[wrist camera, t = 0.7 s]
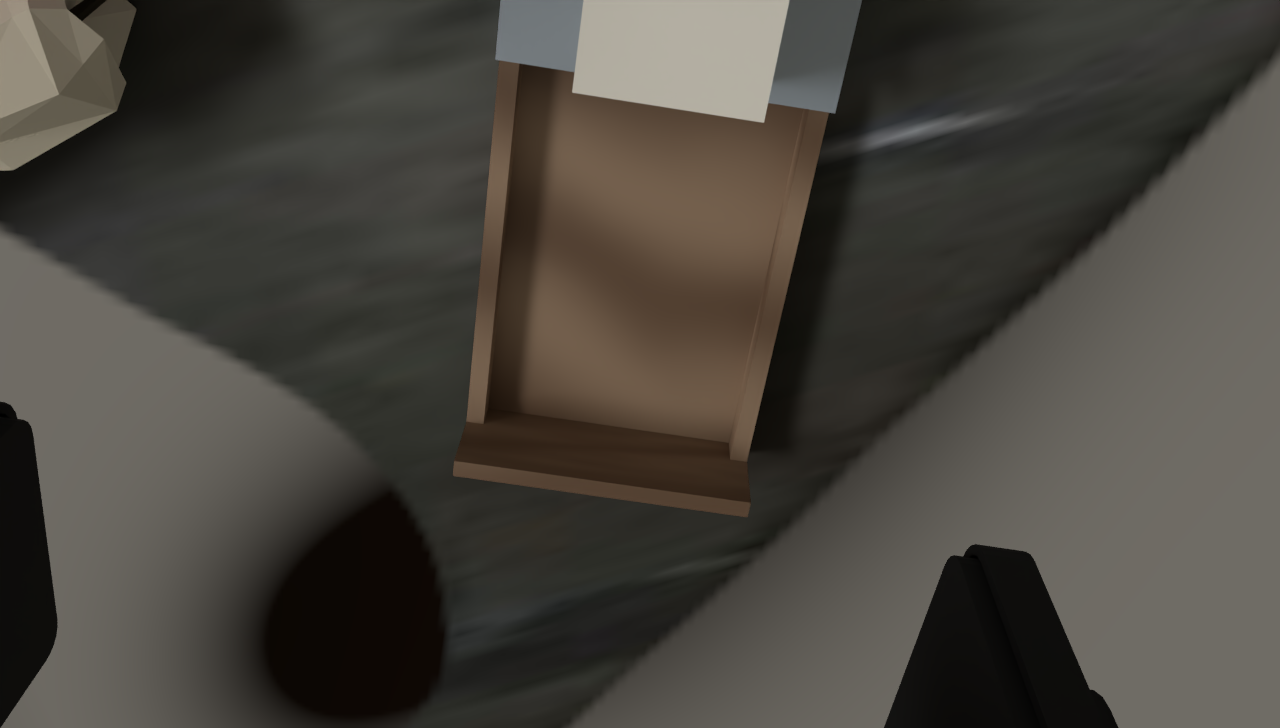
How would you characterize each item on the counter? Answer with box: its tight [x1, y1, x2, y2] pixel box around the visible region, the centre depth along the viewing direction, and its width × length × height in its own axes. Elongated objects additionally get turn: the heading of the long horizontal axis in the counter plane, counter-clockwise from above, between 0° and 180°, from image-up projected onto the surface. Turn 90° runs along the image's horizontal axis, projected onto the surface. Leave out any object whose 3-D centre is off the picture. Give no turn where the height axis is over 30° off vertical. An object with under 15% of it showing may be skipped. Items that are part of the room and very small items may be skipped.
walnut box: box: [453, 60, 829, 517], centre depth 36 cm, size 14×10×4 cm
